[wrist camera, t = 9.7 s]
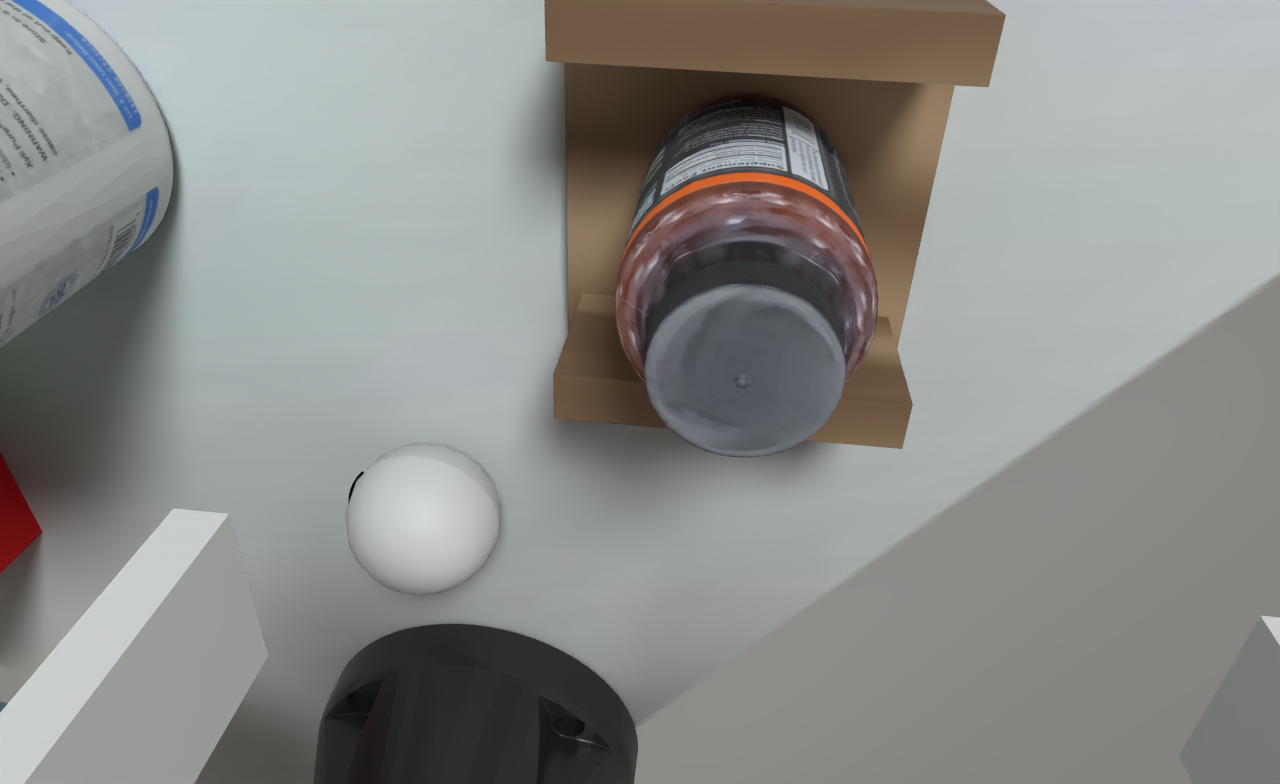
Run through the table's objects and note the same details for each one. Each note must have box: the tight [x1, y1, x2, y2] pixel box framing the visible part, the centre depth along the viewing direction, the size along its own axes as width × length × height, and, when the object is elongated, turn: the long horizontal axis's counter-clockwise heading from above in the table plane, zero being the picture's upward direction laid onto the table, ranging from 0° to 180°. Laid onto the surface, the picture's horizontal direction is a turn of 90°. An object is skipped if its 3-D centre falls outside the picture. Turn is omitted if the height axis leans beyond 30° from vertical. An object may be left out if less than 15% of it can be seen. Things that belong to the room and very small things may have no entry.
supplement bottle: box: [614, 94, 879, 457], centre depth 22 cm, size 6×6×11 cm
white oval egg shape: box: [346, 442, 500, 612], centre depth 33 cm, size 8×6×6 cm
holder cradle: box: [545, 0, 1006, 449], centre depth 25 cm, size 12×11×6 cm
